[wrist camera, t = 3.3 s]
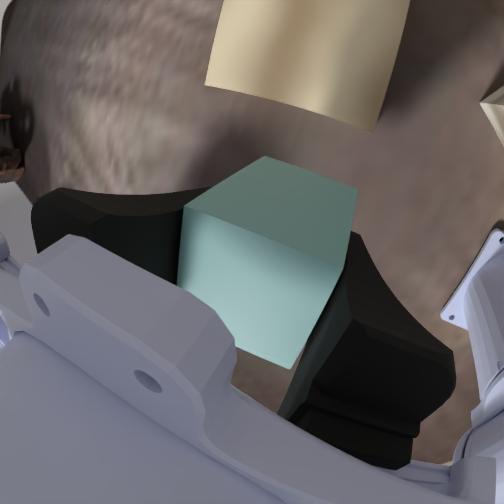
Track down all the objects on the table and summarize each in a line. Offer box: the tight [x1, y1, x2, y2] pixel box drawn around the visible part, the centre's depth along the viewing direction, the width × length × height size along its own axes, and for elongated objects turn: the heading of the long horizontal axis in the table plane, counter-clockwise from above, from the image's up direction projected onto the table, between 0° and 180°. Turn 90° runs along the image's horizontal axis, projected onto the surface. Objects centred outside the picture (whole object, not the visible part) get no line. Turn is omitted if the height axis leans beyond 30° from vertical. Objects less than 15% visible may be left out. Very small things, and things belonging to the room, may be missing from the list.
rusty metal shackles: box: [0, 114, 25, 183], centre depth 27 cm, size 12×10×8 cm
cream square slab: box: [205, 0, 410, 133], centre depth 13 cm, size 10×10×2 cm
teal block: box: [177, 156, 358, 369], centre depth 10 cm, size 4×4×6 cm
